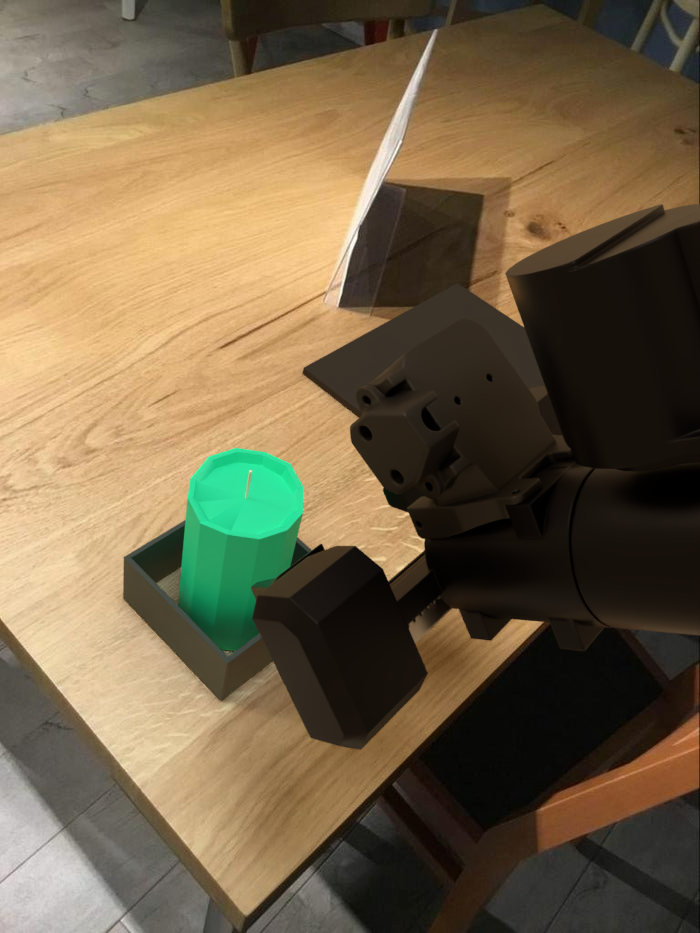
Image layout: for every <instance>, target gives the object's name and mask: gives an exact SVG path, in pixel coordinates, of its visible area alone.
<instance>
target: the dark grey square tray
mask: <svg viewBox="0 0 700 933" xmlns="http://www.w3.org/2000/svg"><path fill="white" fill-rule="evenodd" d="M185 520H186V519H184V520H182V521H181V522H179V523H177V524H176V525H174V526H173V527H171V528H169V529H168V530H166V531H165V532H162V533H161V534H159V535H158V536H156V537H155V538H153V539H151V540H149V541H147V542H146V543H144V544H143V545H141V546H140V547H137V548H136V549H135V550H133V551H131V552H130V553H128V554H126V555H125V556H123V574H122V576H123V580H122V581H123V582H122V584H123V586H122V588H123V589H122V590H123V591H122V598H123V600H124V601H125V602H126V603H127V604H128V605H129V606H130V607H131V608H132V609H133V610H134V611H135V612H136V613H137V615H139V617H140V618H141V619H142V620H143V621H144V622H145V623H146V624H147V625H148V626H149V628H151V629H152V630H153V631H154V633H155V634H157V636H158V637H159V638H160V639H161V640H162V641H163V642H164V643H165V644H166V645H167V646H168V647H169V648H170V649H171V651H173V652H174V654H175V655H176V656H177V657H178V658H179V659H180V660H181V661H182V662H183V663H184V664H185V665H186V666H187V667H188V668H189V670H191V672H192V673H193V674H194V675H195V676H196V677H197V678H198V679H199V680H200V681H201V683H203V684H204V686H206V687H207V688H208V690H209V691H210V692H211V693H212V694H213V695H214V696H215V697H216V698H217V700H219V701H220V702H222V701H223V700H225V698H227V697H228V696H230V695H231V694H232V693H233V692H235V691H236V690H237V689H239V688H240V687H241V686H242V685H244V684H245V683H246V682H247V681H249V680H250V679H251V678H252V677H254V676H255V675H256V674H258V673H259V672H260V671H261V670H262V669H264V668H265V667H266V666H268V665H269V664H270V663H271V662H273V660H272V658H271V656H270V654H269V652H268V650H267V648H266V646H265V644H264V642H263V639H262V637H261V635H260V633H259V634H258V635H257V636H255V637H254V638H253V639H251V640H250V641H249V642H247V643H246V644H245V645H243V646H242V647H241V648H239V649H238V650H237V651H233V652H232V653H231V654H230V655H229V656H228V655H227V654H226V653H225V652H224V650H221V649H220V648H219V647H218V646H217V645H216V644H215V643H214V642H213V641H212V640H211V639H210V638H209V637H208V636H207V635H206V634H205V633H204V632H203V631H202V630H201V629H200V628H199V627H198V626H197V625H196V624H195V623H194V622H193V621H192V620H191V618H190V617H189V616H188V615H187V614H186V613H185V612H184V611H183V610H182V609H181V608H180V607H179V606H178V603H176V602H175V601H174V600H173V599H172V598H171V597H170V596H169V594H167V592H165V591H164V590H163V589H162V587H161V586H159V585H158V584H157V582H159V581H160V580H162V579H164V578H165V577H166V576H168V575H170V574H171V573H172V572H174V571H176V570H177V569H179V568H181V565H182V554H183V543H184V531H185ZM312 550H313V549H312V548H310V547H309V545H307V544H306V543H305V542H304V541H303V540H301V539H300V538H299V537H298V536H297V540H296V544H295V549H294V553H293V557H292V561H291V565H290V567H291V566H292V565H293V564H295V563H296V562H297V561H299V560H300V559H301V558H302V557H304V556H305V555H306V554H308V553H309V552H310V551H312Z"/></svg>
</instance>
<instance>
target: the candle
mask: <svg viewBox="0 0 700 933" xmlns="http://www.w3.org/2000/svg"><path fill="white" fill-rule="evenodd" d="M188 485H189V486H188V492H187V498H186V499H187V500H186V511H185V519H184V520H185V531H184V543H183V554H182V565H181V567H180V575H179V577H180V578H179V587H178V588H179V589H178V599H177V605H178V606H179V607H180V608H181V609H182V610H183V611H184V612H185V613H186V614H187V615H188V616H189V617H190V618H191V620H192V621H193V622H194V623H195V624H196V625H197V626H198V627H199V628H200V629H201V630H202V631H203V632H204V633H205V634H206V635H207V636H208V637H209V638H210V639H211V640H212V641H213V642H214V643H215V644H216V645H217V646H218V647H219V648H220V649H221V650H222V651H230V652H235V651H237V650H238V649H239V648H241V647H242V646H243V645H245V644H246V643H247V642H249V641H250V640H251V639H253V638H254V637H255V636H257V635H258V634H259V631H258V629H257V627H256V625H255V623H254V621H253V619H252V617H253V612H254V608H255V603H256V598H255V596H254V594H253V592H252V590H251V587H252V586H253V585H254V584H255V583H257V582H260V581H264V580H269V579H274V578H276V577H278V576H279V575H280V574H281V573H283V572H284V571H285V570H287V569H288V568H289V567H290V565H291V561H292V557H293V553H294V549H295V544H296V540H297V537H298V536H299V532H300V527H301V523H302V519H303V515H304V502H305V501H304V500H305V497H304V496H305V486H304V485H303V483H302V482H301V480H300V478H299V476H298V474H297V472H296V471H295V469H294V466H293V465H292V464H291V463H290V462H288V461H286V460H283V459H281V458H279V457H277V456H275V455H273V454H271V453H268V452H266V451H260V450H254V449H248V448H240V447H234V448H230V449H228V450H225V451H221V452H219V453H215V454H212V455H209V456H208V457H207V458H206V459H205V460H204V461H203V462H202V463H201V465H200V466H199V468H198V469H197V470H196V471H195V472H194V474H193V475H192V476H191V477H190V479H189V484H188Z"/></svg>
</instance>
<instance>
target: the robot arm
mask: <svg viewBox="0 0 700 933" xmlns="http://www.w3.org/2000/svg"><path fill="white" fill-rule="evenodd" d="M504 274H505V277H506V280H507V283H508V285H509V289H510V291H511V294H512V297H513V300H514V301H515V305H516V308H517V312H518V314H519V316H520V320H521V322H522V326H523V327H524V328H525V331H526V333H527V336H528V339H529V342H530V345H531V348H532V350H533V353H534V356H535V359H536V362H537V365H538V367H539V370H540V373H541V376H542V379H543V381H544V384H545V386H540V387H533V388H528V387H527V386H526V384H525V383H524V381H523V380H522V379H521V377H520V376H519V374H518V373H517V372H516V370H515V369H514V368H513V366H512V365H511V363H510V362H509V361H508V359H507V358H506V356H505V355H504V354H503V352H502V351H501V350H500V348H499V347H498V345H497V344H496V343H495V341H494V340H493V338H492V337H491V336H490V334H489V333H488V332H487V330H486V329H485V328H484V327H483V326H482V325H480V324H479V323H478V322H476V321H474V320H471V319H464V318H463V319H459V320H457V321H455V322H453V323H452V324H450V325H448V326H447V327H445V328H444V329H442V330H440V331H439V332H437V333H435V334H434V335H432V336H431V337H429V338H427V339H426V340H424V341H422V342H421V343H419V344H418V345H416V346H414V347H413V348H411V349H410V350H408V351H407V352H406V353H405V354H404V355H402V356H401V357H400V358H399V359H398V360H397V361H396V362H394V363H393V364H392V365H391V366H390V367H389V368H387V369H386V370H385V371H384V372H383V373H382V374H381V375H379V376H378V377H377V378H376V379H375V380H373V381H372V382H370V383H368V384H367V385H365V386H363V387H362V388H360V389H359V390H358V391H357V393H356V400H357V403H358V407H359V411H360V414H361V417H358V419H356V420H355V421H354V422H352V423H351V424H350V426H349V436H350V443H351V444H352V446H353V447H354V449H355V450H356V451H357V453H358V454H359V455H360V457H361V458H362V460H363V461H364V462H365V464H366V466H367V467H368V468H369V470H370V471H371V472H372V474H373V475H374V476H375V478H376V479H377V481H378V483H380V485H381V486H382V487H383V488H382V492H383V495H384V497H385V499H386V502H387V504H388V506H390V507H391V508H394V509H397V510H399V511H402V512H405V513H408V515H409V517H410V520H411V522H412V524H413V527H414V529H415V532H416V535H417V536H418V537H419V538H420V539H423V540H424V544H423V545H424V550H423V551H422V552H420V553H419V554H417V556H415V558H413V559H412V560H411V561H410V562H409V563H407V564H406V565H405V566H404V567H403V568H402V569H401V570H399V571H398V572H397V573H396V574H394V576H392V577H391V578H390V579H389V580H388V577H387V575H386V573H385V569H383V567H381V565H379V564H378V563H377V562H375V561H374V560H373V559H372V558H370V557H369V556H368V555H367V554H366V553H365V552H364V551H363V550H361V549H360V548H359V547H358V546H356V545H335V546H334V545H333V546H332V547H329V548H327V549H325V548H324V544H322V543H320V544H318V545H317V546H315V547H313V549H311V550H312V551H310V552H309V553H308V554H306V555H305V556H304V557H302V558H301V559H300V560H299V561H297V562H296V563H295V564H293V565H292V566H291V567H289V568H288V569H287V570H285V571H284V572H283V573H281V574H280V575H279V576H278V577H276V578H274V579H269V580H264V581H260V582H257V583H255V584H254V585H253V586H252V587H251V590H252V592H253V594H254V596H255V598H256V603H255V608H254V612H253V617H252V619H253V621H254V623H255V625H256V627H257V629H258V631H259V633H260V635H261V637H262V639H263V642H264V644H265V646H266V648H267V650H268V652H269V654H270V656H271V658H272V660H273V661H272V662H273V664H274V666H275V668H276V670H277V672H278V674H279V677H280V678H281V681H282V682H283V685H284V687H285V689H286V691H287V693H288V695H289V698H290V699H291V701H292V704H293V705H294V708H295V709H296V711H297V713H298V715H299V717H300V720H301V722H302V724H303V726H304V727H305V728H304V729H306V732H307V734H308V736H309V738H310V739H312V740H316V741H320V742H323V743H327V744H331V745H333V746H337V747H342V748H346V749H347V748H348V749H353V750H359V751H362V749H363V748H365V747H366V745H367V744H368V743H369V742H370V741H371V740H373V738H374V737H375V736H376V735H378V734H379V732H380V731H381V730H382V729H383V728H384V727H385V726H387V724H388V723H389V722H390V721H391V720H392V719H393V718H394V717H395V716H396V715H397V714H398V713H399V712H400V711H401V710H402V709H403V708H404V707H405V706H406V705H407V704H408V703H409V702H410V701H411V700H412V699H413V698H414V697H415V695H417V694H418V693H419V692H420V690H421V688H422V686H423V684H424V682H425V681H426V678H427V677H428V674H429V672H428V670H427V668H426V665H425V662H424V660H423V658H422V656H421V653H420V651H419V649H418V646H417V643H418V642H419V641H420V640H421V639H422V638H424V636H425V635H426V634H427V633H429V631H431V629H432V628H434V627H435V626H436V625H437V624H438V623H439V622H440V621H441V620H442V619H443V618H444V617H446V615H447V614H448V613H449V612H450V611H451V610H453V609H454V610H458V612H459V614H460V616H461V618H462V621H463V623H464V625H465V628H466V630H467V633H468V635H469V638H470V639H471V640H472V639H473V640H481V641H488V642H489V641H490V642H491V641H492V640H494V639H495V637H497V635H498V634H499V633H500V632H501V631H502V630H503V629H504V628H505V627H506V626H507V625H508V624H509V623H510V622H511V621H512V620H515V621H516V620H518V621H528V622H529V621H530V622H541V623H549V624H550V626H551V629H552V632H553V634H554V637H555V639H556V640H555V641H556V642H557V645H558V648H559V650H560V649H561V650H569V651H578V652H586V650H587V649H588V648H589V647H590V646H591V645H592V643H593V642H594V641H595V640H596V638H597V637H598V636H599V635H600V634H601V633H602V631H603V630H604V629H605V628H607V629H621V630H633V631H641V632H644V631H645V632H654V633H666V634H678V635H680V634H681V635H688V636H700V203H694V204H693V203H692V204H687V205H681V206H676V207H673V208H669V209H665V207H664V204H662V203H661V204H657V205H653V206H650V207H647V208H643V209H640V210H638V211H634V212H631V213H629V214H626V215H622V216H619V217H618V218H615V219H611V220H609V221H606V222H603V223H601V224H598V225H596V226H592V227H590V228H588V229H586V230H582V231H580V232H577V233H575V234H573V235H571V236H569V237H566V238H564V239H561V240H559V241H556V242H554V243H553V244H550V245H548V246H546V247H544V248H541V249H540V250H538V251H536V252H534V253H532V254H530V255H528V256H526V257H524V258H522V259H521V260H519V261H518V262H516V263H514V264H513V265H512V266H510V267H509V268H508V269H507V270H506V272H505V273H504Z"/></svg>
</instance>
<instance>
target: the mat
mask: <svg viewBox="0 0 700 933" xmlns="http://www.w3.org/2000/svg"><path fill="white" fill-rule="evenodd" d="M463 318H464V319H471V320H474V321H476V322H478V323H479V324H480V325H482V326H483V327H484V328H485V329H486V330H487V332H488V333H489V334H490V336H491V337H492V338H493V340H494V341H495V343H496V344H497V345H498V347H499V348H500V350H501V351H502V352H503V354H504V355H505V356H506V358H507V359H508V361H509V362H510V363H511V365H512V366H513V368H514V369H515V370H516V372H517V373H518V374H519V376H520V377H521V379H522V380H523V381H524V383H525V384H526V386H527V387H528V388H533V387H540V386H545V384H544V381H543V379H542V376H541V373H540V370H539V367H538V365H537V362H536V359H535V356H534V353H533V350H532V348H531V345H530V342H529V339H528V336H527V333H526V331H525V328H524V325H521V323H518V322H517V321H516V320H514V319H513V318H511V317H509V316H508V315H506V313H503V312H502V311H500V310H499V309H497V308H496V307H495V306H493V305H492V304H490V303H488V302H487V301H485V300H484V299H483V298H481V297H480V296H478V295H477V294H475V293H473V292H472V291H470V290H469V289H468V288H466V287H464V286H463V285H461V284H460V283H459V282H457V283H455V284H453V285H451V286H449V287H448V288H446V289H444V290H442V291H441V292H438V293H437V294H435V295H433V296H432V297H430V298H429V297H428V298H427V299H426V300H424V301H422V302H420V303H419V304H417V305H415V306H412V307H411V308H410V309H408V310H406V311H403V312H402V313H401V314H399V315H397V316H396V317H393V318H391V319H390V320H387V321H386V322H384V323H382V324H380V325H378V326H376V327H375V328H373V329H371V330H370V331H367V332H366V333H364V334H362V335H361V336H359V337H357V338H355V339H353V340H352V341H349V342H347V343H346V344H344V345H342V346H340V347H339V348H337V349H335V350H333V351H330V352H329V353H328V354H325V355H324V356H322V357H320V358H318V359H317V360H315V361H313V362H311V363H310V364H308V365H306V366H304V367H303V369H302V374H303V375H304V376H305V377H307V378H308V379H309V380H311V381H312V382H313V383H314V384H316V385H317V386H318V387H320V388H321V389H322V390H323V391H325V393H327V394H329V395H330V396H331V397H333V398H334V399H335V400H336V401H338V402H339V403H340V404H341V405H342V406H344V407H345V408H346V409H347V410H349V411H350V412H352V413H353V414H354V415H355V416H357V417H358V418H360V417H361V414H360V411H359V407H358V403H357V400H356V393H357V391H358V390H359V389H360V388H362V387H363V386H365V385H367V384H368V383H370V382H372V381H373V380H375V379H376V378H377V377H378V376H379V375H381V374H382V373H383V372H384V371H385V370H386V369H387V368H389V367H390V366H391V365H392V364H393V363H394V362H396V361H397V360H398V359H399V358H400V357H401V356H402V355H404V354H405V353H406V352H407V351H408V350H410V349H411V348H413V347H414V346H416V345H418V344H419V343H421V342H422V341H424V340H426V339H427V338H429V337H431V336H432V335H434V334H435V333H437V332H439V331H440V330H442V329H444V328H445V327H447V326H448V325H450V324H452V323H453V322H455V321H457V320H459V319H463Z"/></svg>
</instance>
